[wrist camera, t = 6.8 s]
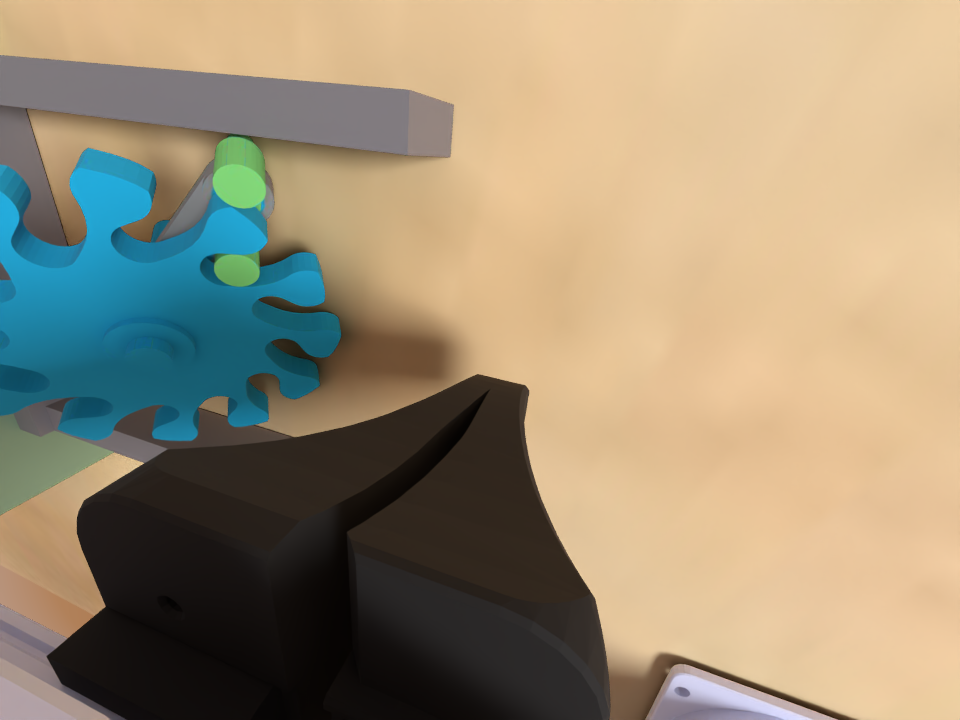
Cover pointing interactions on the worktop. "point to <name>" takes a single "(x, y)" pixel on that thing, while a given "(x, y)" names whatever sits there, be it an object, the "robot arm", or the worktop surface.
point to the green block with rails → (189, 104)
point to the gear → (155, 300)
